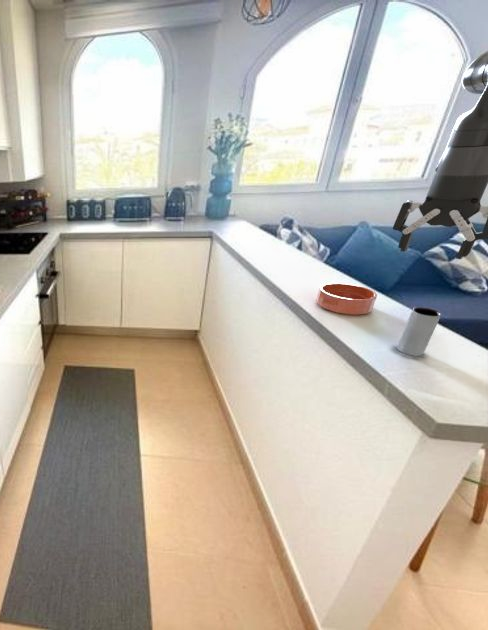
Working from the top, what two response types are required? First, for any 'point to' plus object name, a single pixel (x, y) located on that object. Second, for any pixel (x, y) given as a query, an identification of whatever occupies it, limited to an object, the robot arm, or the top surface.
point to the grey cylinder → (418, 331)
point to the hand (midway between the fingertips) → (430, 254)
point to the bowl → (346, 298)
